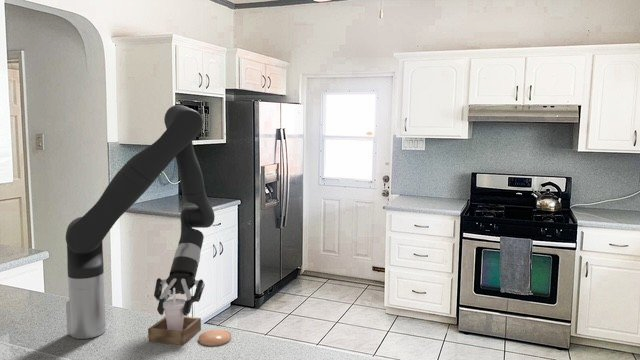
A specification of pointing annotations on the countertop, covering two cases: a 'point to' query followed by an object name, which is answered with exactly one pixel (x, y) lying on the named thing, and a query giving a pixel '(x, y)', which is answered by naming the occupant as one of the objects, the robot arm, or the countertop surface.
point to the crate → (174, 331)
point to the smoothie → (174, 313)
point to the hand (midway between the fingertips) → (172, 313)
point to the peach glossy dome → (215, 337)
